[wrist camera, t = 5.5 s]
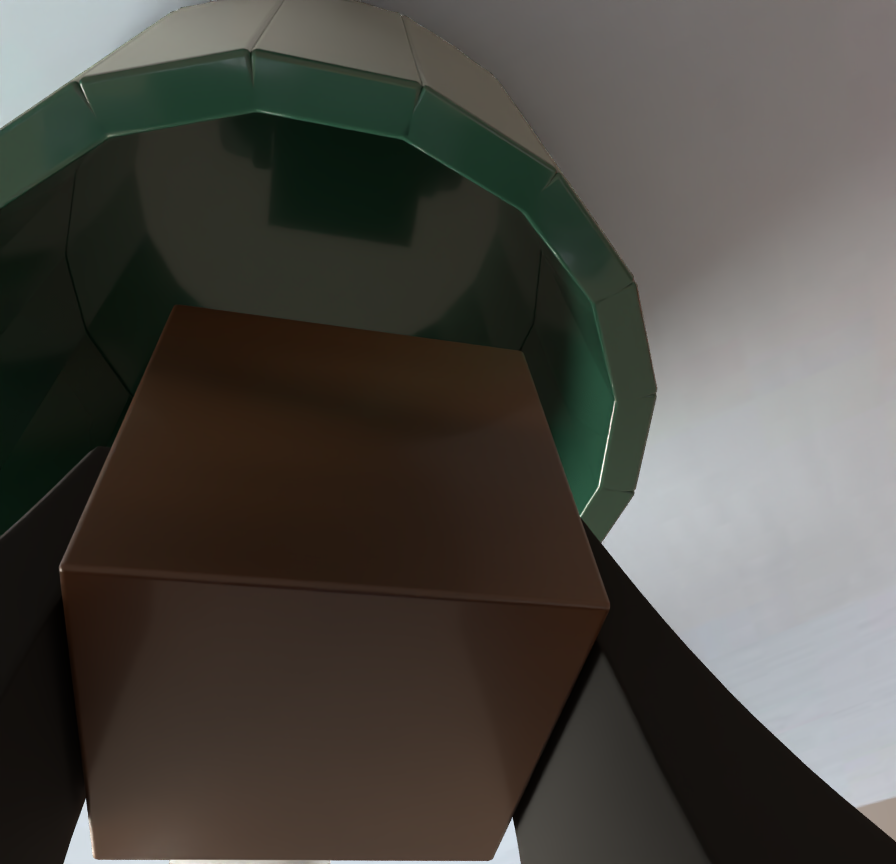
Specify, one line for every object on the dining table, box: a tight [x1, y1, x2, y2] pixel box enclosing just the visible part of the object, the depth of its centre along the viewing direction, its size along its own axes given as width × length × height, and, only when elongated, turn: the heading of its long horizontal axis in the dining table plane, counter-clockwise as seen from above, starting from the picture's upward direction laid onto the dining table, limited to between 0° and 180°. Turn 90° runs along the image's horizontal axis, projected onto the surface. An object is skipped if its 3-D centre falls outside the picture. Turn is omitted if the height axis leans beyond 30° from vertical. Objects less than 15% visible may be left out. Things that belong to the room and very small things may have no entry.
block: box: [59, 305, 610, 861], centre depth 9 cm, size 4×4×4 cm
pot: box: [0, 0, 657, 543], centre depth 15 cm, size 11×12×6 cm
